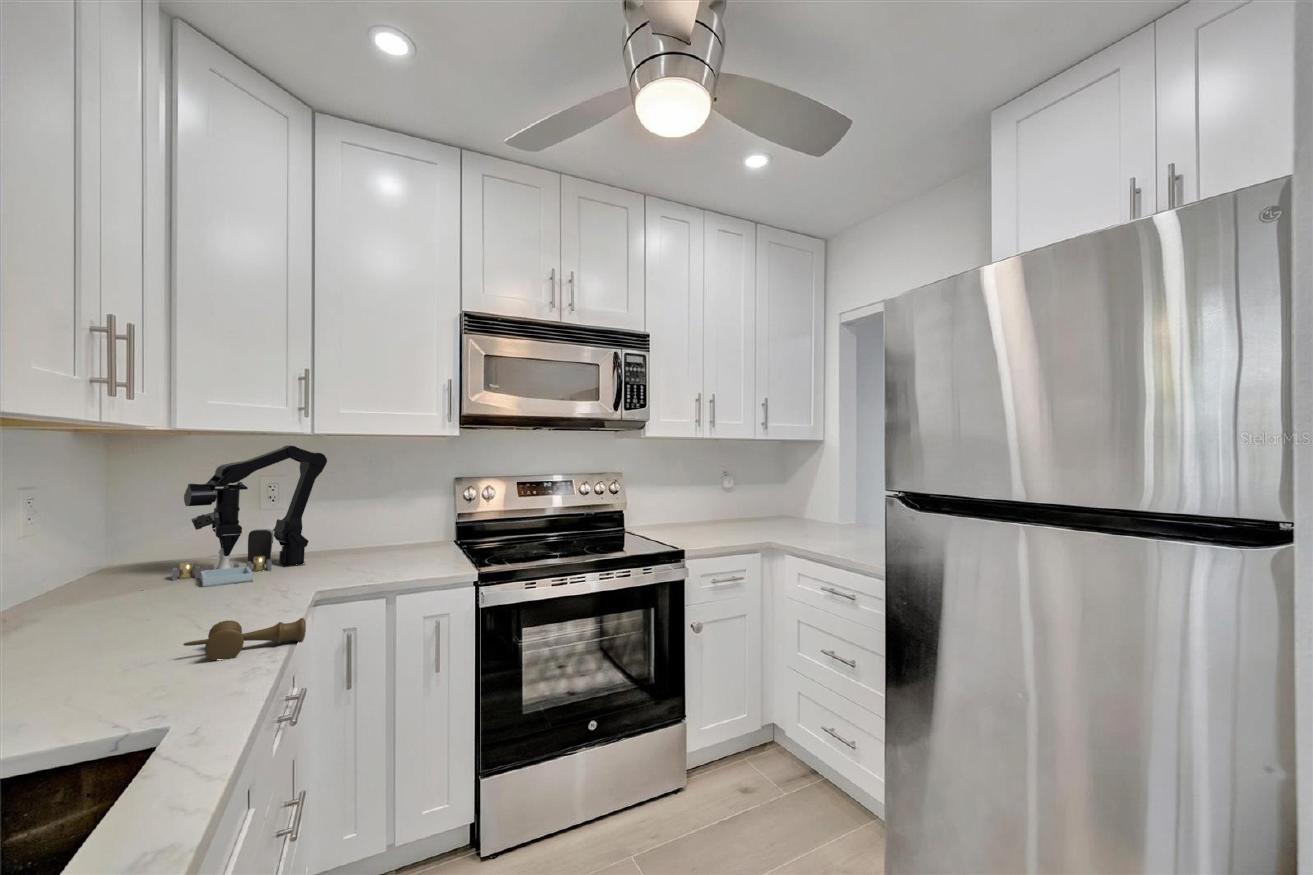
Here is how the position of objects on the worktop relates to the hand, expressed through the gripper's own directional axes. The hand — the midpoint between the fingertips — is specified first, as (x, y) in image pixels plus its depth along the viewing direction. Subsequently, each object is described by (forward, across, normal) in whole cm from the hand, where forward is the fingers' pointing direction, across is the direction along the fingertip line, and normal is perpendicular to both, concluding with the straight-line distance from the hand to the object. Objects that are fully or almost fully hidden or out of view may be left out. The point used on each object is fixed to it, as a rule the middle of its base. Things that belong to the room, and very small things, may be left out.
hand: (225, 553), depth 171 cm
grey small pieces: (+6, 0, 0) cm, 6 cm away
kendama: (+7, +80, -2) cm, 80 cm away
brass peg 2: (+6, 0, +9) cm, 11 cm away
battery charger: (+7, -15, +11) cm, 20 cm away
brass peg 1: (+6, 0, -9) cm, 11 cm away
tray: (+6, +10, 0) cm, 12 cm away
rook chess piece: (+7, 0, 0) cm, 7 cm away
